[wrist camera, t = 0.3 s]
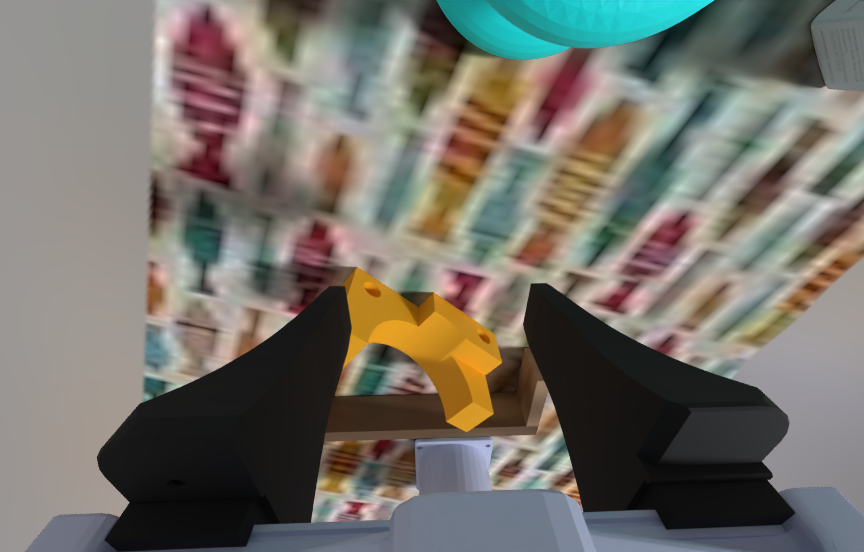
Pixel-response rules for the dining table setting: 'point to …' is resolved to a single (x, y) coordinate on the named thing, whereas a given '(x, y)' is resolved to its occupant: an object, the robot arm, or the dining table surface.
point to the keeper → (438, 413)
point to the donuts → (561, 23)
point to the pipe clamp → (427, 344)
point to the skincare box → (841, 44)
